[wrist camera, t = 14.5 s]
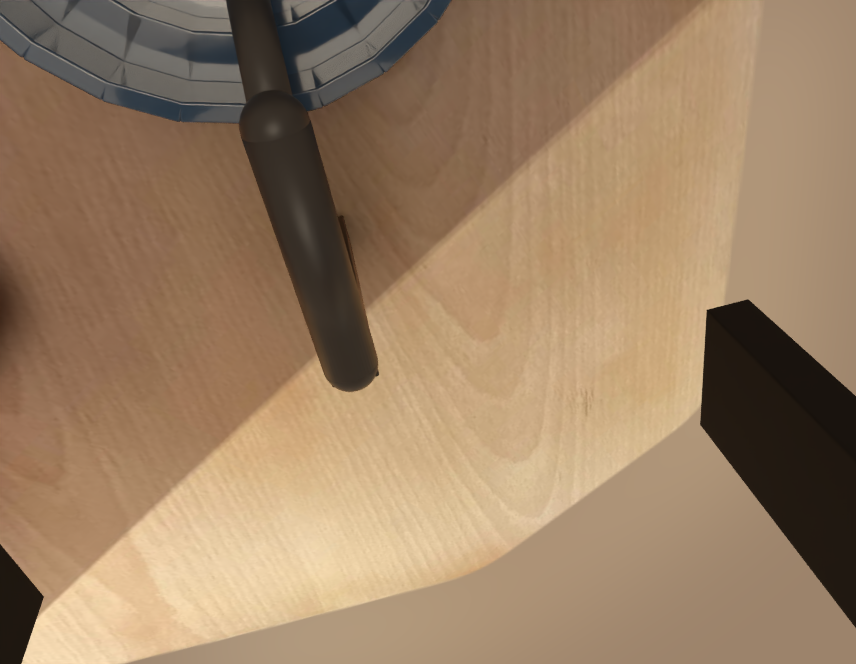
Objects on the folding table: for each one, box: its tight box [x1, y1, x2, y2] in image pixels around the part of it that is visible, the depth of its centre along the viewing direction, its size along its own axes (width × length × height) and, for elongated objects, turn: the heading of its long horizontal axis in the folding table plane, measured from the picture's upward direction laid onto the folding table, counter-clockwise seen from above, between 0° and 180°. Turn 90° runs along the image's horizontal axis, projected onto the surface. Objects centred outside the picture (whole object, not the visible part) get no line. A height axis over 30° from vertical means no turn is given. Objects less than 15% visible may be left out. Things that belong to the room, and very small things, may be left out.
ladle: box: [226, 0, 379, 392], centre depth 21 cm, size 19×6×10 cm, turn 11°
